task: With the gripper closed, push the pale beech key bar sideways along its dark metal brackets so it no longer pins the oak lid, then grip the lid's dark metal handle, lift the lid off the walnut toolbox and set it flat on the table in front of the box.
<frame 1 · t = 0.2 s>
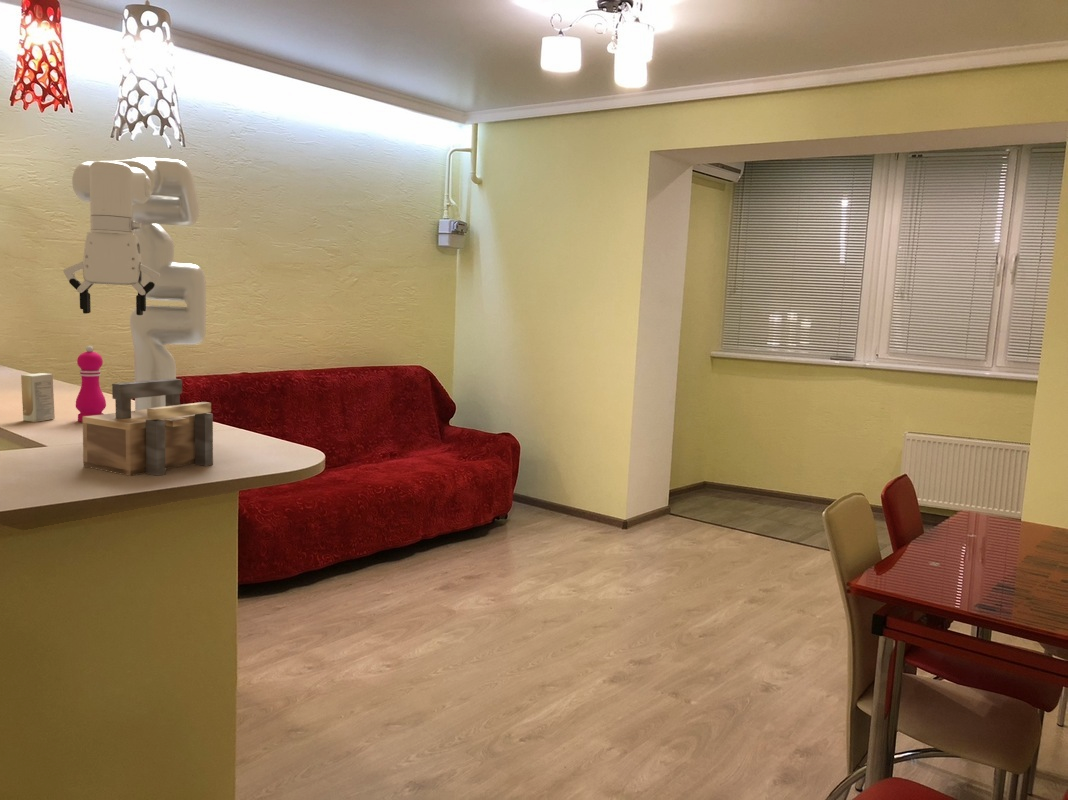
hand: (113, 314, 170), 31 cm above the table, tool pointing down, fingers open, 9 cm apart
toolbox lid: (148, 420, 178), point 9 cm above the table, touching toolbox
toolbox: (149, 463, 179), on the table
skincare box: (38, 420, 225), on the table
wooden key: (180, 410, 173), point 12 cm above the table, slide at 0.0 cm
pepper mill: (91, 421, 228), on the table
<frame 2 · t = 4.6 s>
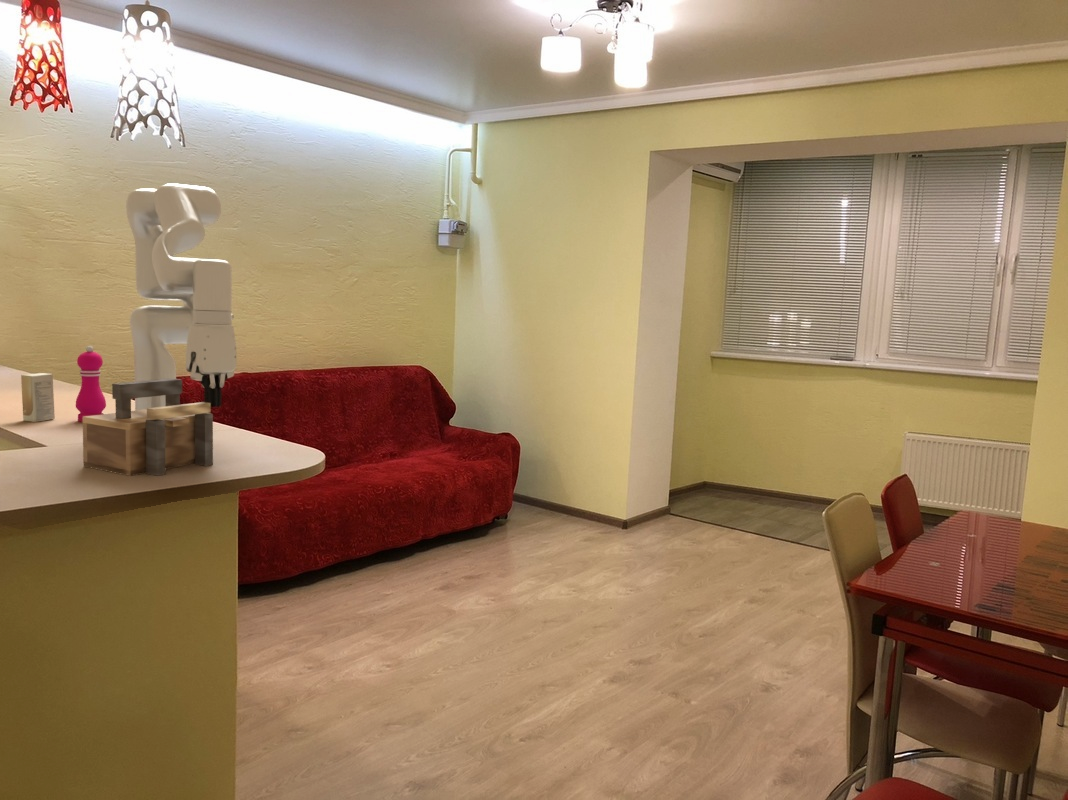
hand: (212, 406, 181), 12 cm above the table, tool pointing down, fingers closed
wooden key: (179, 410, 173), point 12 cm above the table, slide at 0.1 cm, touching gripper
everything else where it was.
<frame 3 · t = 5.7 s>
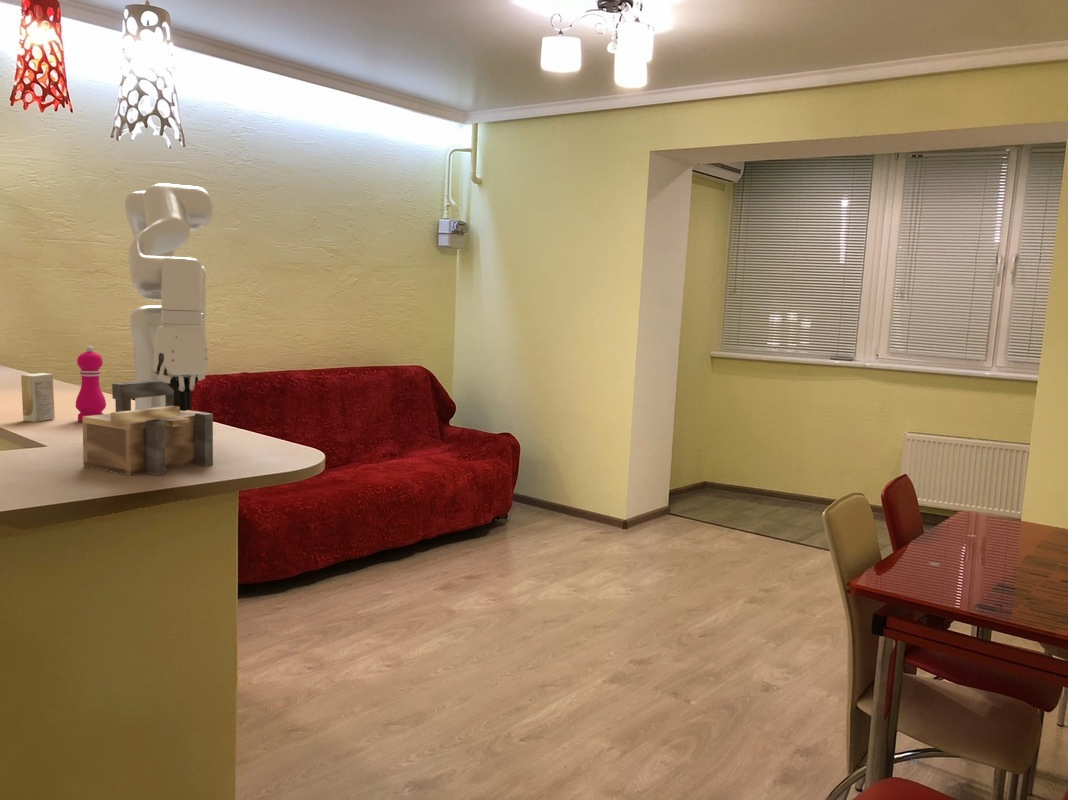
hand: (182, 409, 174), 12 cm above the table, tool pointing down, fingers closed
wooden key: (146, 414, 166), point 12 cm above the table, slide at 8.0 cm, touching gripper
everything else where it was.
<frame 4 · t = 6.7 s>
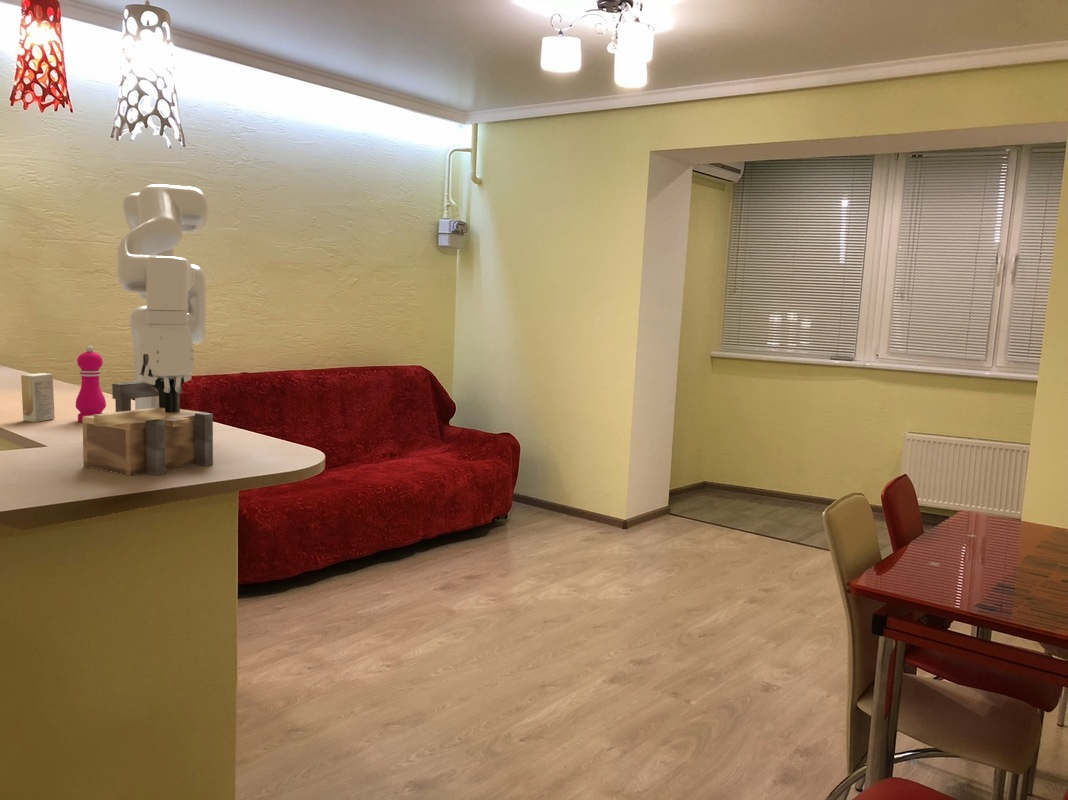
hand: (168, 411, 171), 12 cm above the table, tool pointing down, fingers closed
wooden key: (130, 416, 163), point 12 cm above the table, slide at 11.5 cm, touching gripper
everything else where it was.
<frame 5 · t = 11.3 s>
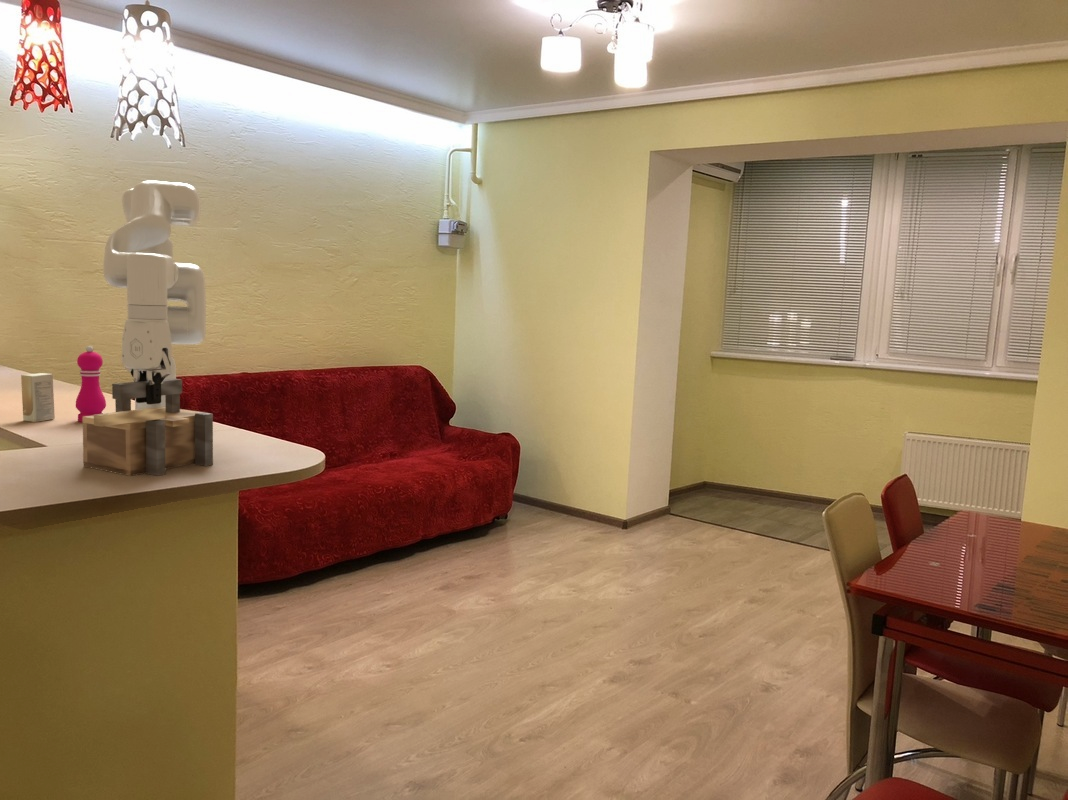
hand: (148, 402, 177), 13 cm above the table, tool pointing down, fingers closed on toolbox lid, 2 cm apart
toolbox lid: (148, 420, 178), point 9 cm above the table, touching gripper, toolbox
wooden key: (130, 416, 163), point 12 cm above the table, slide at 11.5 cm
everything else where it was.
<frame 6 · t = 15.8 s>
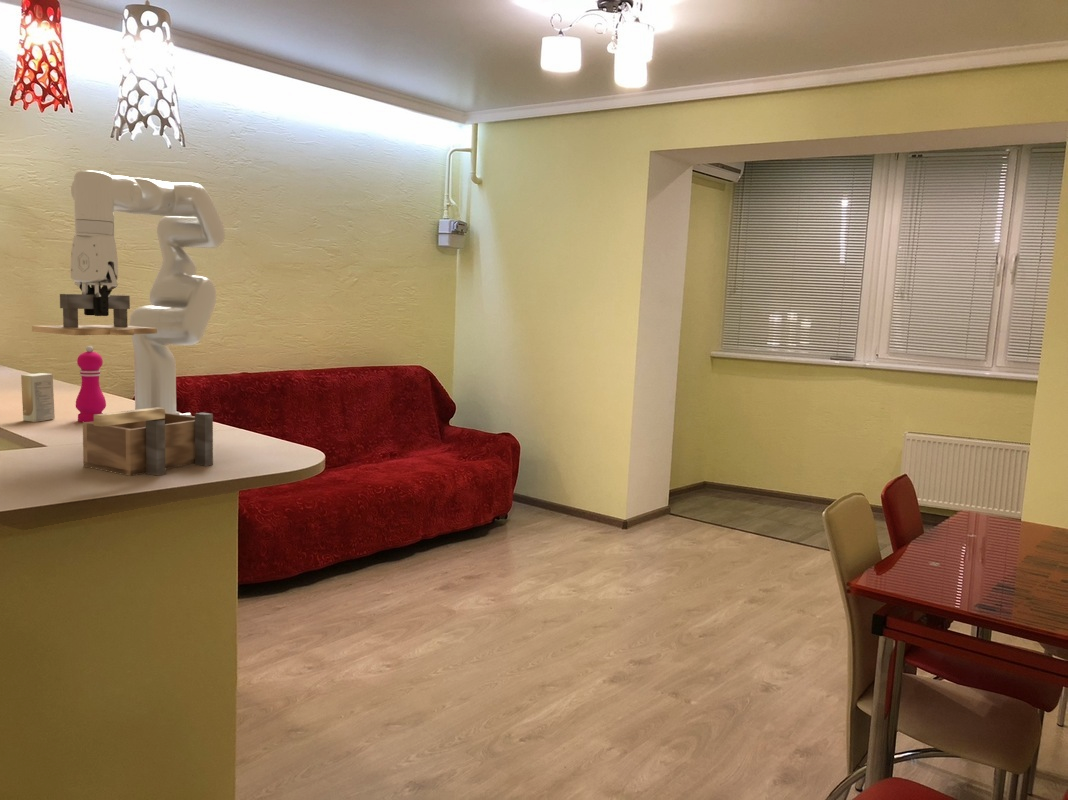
hand: (96, 314, 187), 30 cm above the table, tool pointing down, fingers closed on toolbox lid, 2 cm apart
toolbox lid: (96, 332, 187), point 26 cm above the table, touching gripper
everything else where it was.
when the fingers open (6 cm above the table, at t = 20.3 s): toolbox lid drops 2 cm, on the table.
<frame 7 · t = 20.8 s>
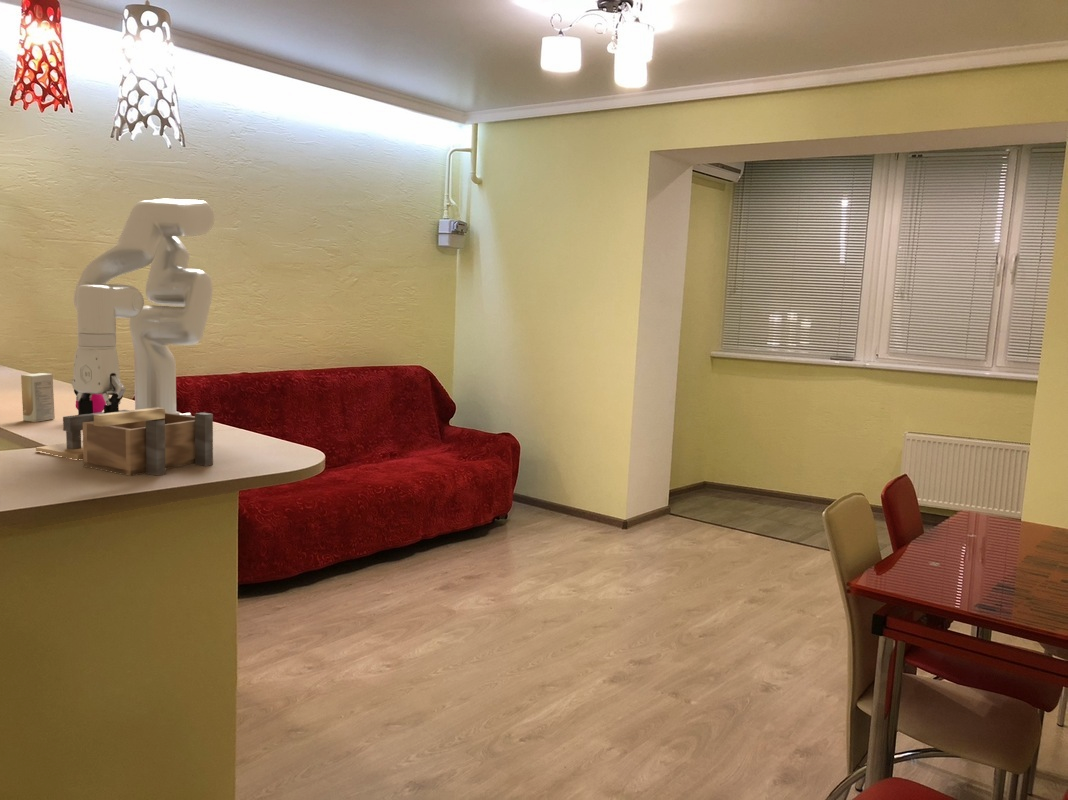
hand: (98, 420, 190), 7 cm above the table, tool pointing down, fingers open, 8 cm apart
toolbox lid: (99, 449, 191), on the table
everything else where it was.
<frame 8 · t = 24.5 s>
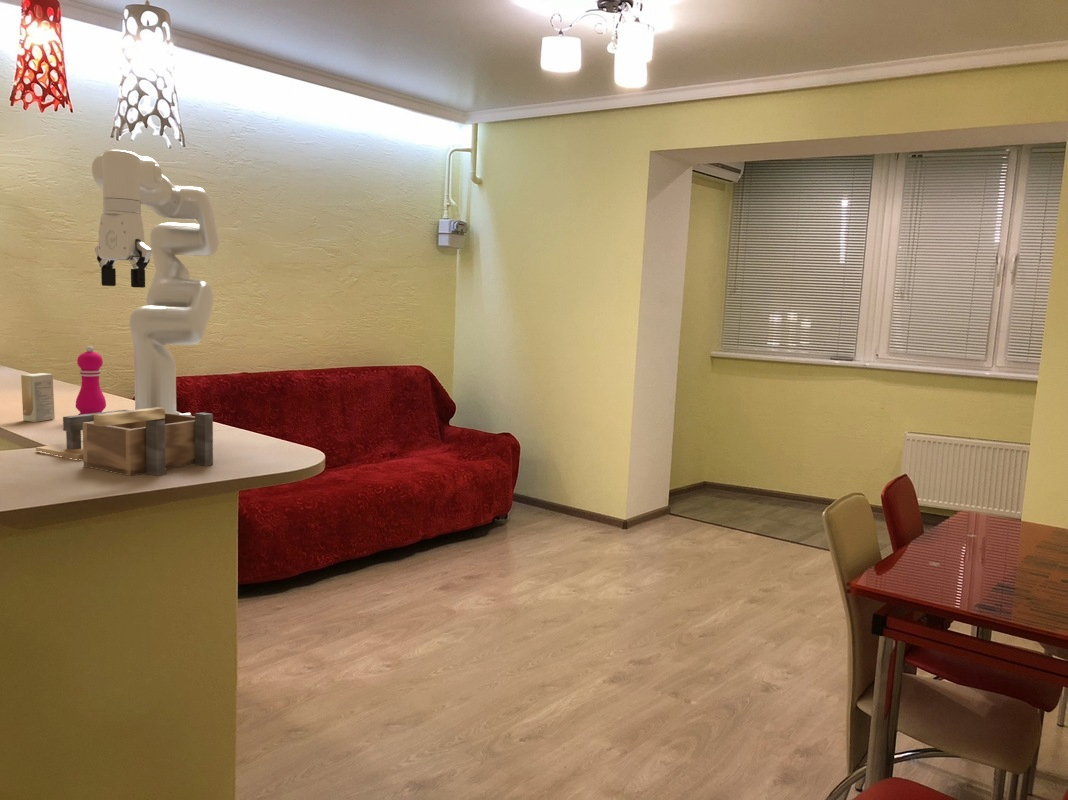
hand: (123, 286, 191), 36 cm above the table, tool pointing down, fingers open, 9 cm apart
nothing on the table moved.
at the end: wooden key slide at 11.5 cm; toolbox lid inside the target area (0.1 cm from its centre), on the table; toolbox lid tilted 0° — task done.
